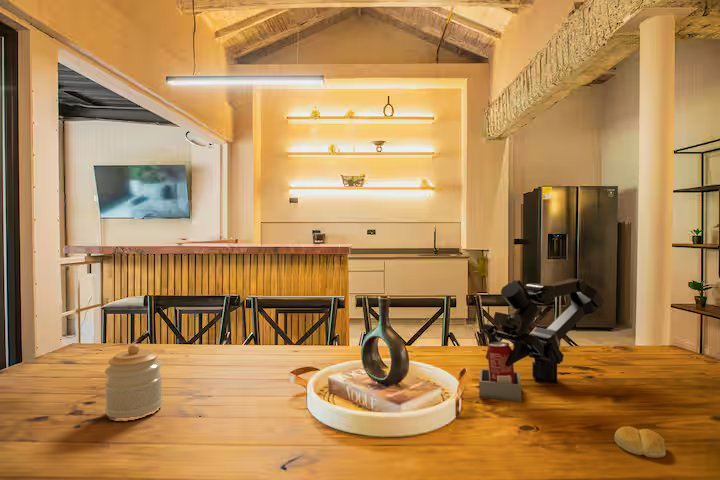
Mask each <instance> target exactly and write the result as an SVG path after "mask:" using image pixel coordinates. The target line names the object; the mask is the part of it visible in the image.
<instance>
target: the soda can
mask: <svg viewBox="0 0 720 480" xmlns="http://www.w3.org/2000/svg"><path fill="white" fill-rule="evenodd" d="M489 345H490V346H489V348H488V347H487V350H486V354H488V360H487V364H488V365H487V366H488V370H489V380H490V382H500V383H510V384H515V380H514V372H515V370H514V364H512V365H510V366H509V367H507V366H506V365H505V363H506V361H507V359H508V357H509V355H510V353H511V352H512V350H513V348H511V346H510V343H509V342H506V341H501V342H491V343H489Z"/></svg>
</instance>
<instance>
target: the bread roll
mask: <svg viewBox="0 0 720 480" xmlns="http://www.w3.org/2000/svg"><path fill="white" fill-rule="evenodd" d="M614 441H615V443H616V444H617V445H618V446H619V447H620V448H622V449H623V450H625V451H626V452H629V453H631V454H634V455H638V456H642V455H643V456H645V457H647V458H653V459H655V458H656V459H657V458H658V459H659V458H664V457H665V456H666V455H667V452H666V447H665V446H666V445H665V439H664V438H663V437H662V436H661V435H660V434H659V433H657V432H655V431H654V430H651V429H648V428H643V429H637V428H636V427H633V426H629V425H626V426H621V427H620V428H618V429H617V430H616V431H615V433H614Z"/></svg>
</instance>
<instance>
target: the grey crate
mask: <svg viewBox="0 0 720 480" xmlns="http://www.w3.org/2000/svg"><path fill="white" fill-rule="evenodd" d="M520 377H521V376H520V371H514V380H515V384H510V383H500V382H490V380H489V368H487V369H486V368H480V370H479V380H478V382H479V385H478V387H479V388H478V389H479V391H478V392H479V393H478V395H479V396H478V398H481V399H483V398H484V399H491V400H499V401H500V400H501V401H509V402H518V403H521V402H522V384H521V378H520Z"/></svg>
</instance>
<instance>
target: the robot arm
mask: <svg viewBox="0 0 720 480" xmlns="http://www.w3.org/2000/svg"><path fill="white" fill-rule="evenodd" d="M500 295H501V296H502V297H503V299H504V300H505V301H506V302H507V304H509V306H510V307H511V308H512V309H513V310H515V311H514V312H512V313H510V314H507V313H503V312H500V311H499V312H498V311H495V312H494V315H493V318H492V323H493V324H490V323H484V324H483V325H482V327H481V329H480V330H481V332H482V333H483V334H484V336H486V338H487V339H488V344H487V349H488V348H489V346H490V345H489V343H491V342H503V340H505V341H509V342H512V343H513V348H512V352H511V353H510V355H509V357H508V359H507V361H506V363H505V365H506V366H507V367H509V366H510V365H512V364H513V365H514V364H515V363H517V362H518V361H521V360H522V359H525V358H526V357H528V358H533V361H532V362H531V376H532V378H533V379H534V382H537V383H548V384H558V385H559V380H558V365H560V364H561V363H563V361H564V354H563V352H562V351H561V350H560V341H561V340H562V339H563V338H564V337H565V336H566V335H567V334H568V333H569V332H570V331H571V330H572V329H573V328H574V327H575V325H577V324H578V322H580V320H581V319H583V317H585V316H589V315H593V314H595V313H596V312H597V311H599V310H600V309H601V308H602V307H603V305H604V299H603V297H602V296H601V294H600V293H599V291H598V290H597V289H595V288H593V287H592V286H590V285H589V284H588V283H587V282H586V281H585V280H583V279H580V278H579V279H578V278H571V277H570V278H568V279H565V280H560V281H557V282H551V283H546V284H544V283H527V284H526V285H525V286H524V285H523V283H522V281H521V280H519V279H514V280H513V281H512V282H509V283H507V284H506V285H505V286H502V288H501V290H500ZM565 295H568V297H569V298H570V306H568V307H567V308H566V310H565V311H563V312H562V313H561V314H560V315H559V316H558V317H556V319H555V320H554V321H553V322H552V323H551V324H549V326H548V327H547V328H543V327H542V328H541V327H536V328H535V329H534V330H533V328H532V325H533V324H534V321H535V320H536V318H537V317H541V318H542V317H544V314H543V313H544V312H543V311H542V310H543V309H542V307H540V306H538V305H537V304H540V305H548V304H550V303H552V302H554V301H555V299H556V298H557V297H558V298H559V297H562V296H565ZM494 324H498V325H499V328H500V329H501V330H502V331H500V329H499V328H498V327H497V325H494ZM528 332H531V333H528ZM485 358H486V360H487V361H488V354H487V353H486V354H485Z"/></svg>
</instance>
